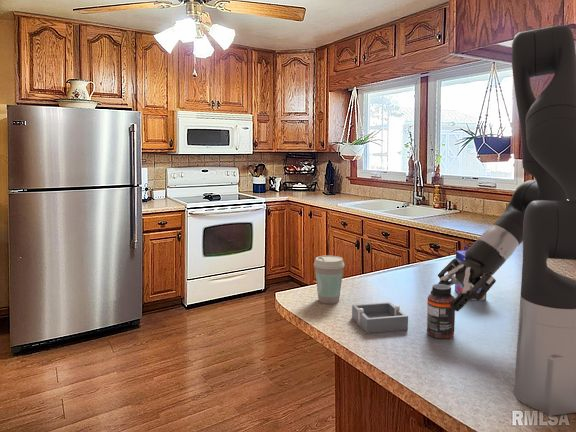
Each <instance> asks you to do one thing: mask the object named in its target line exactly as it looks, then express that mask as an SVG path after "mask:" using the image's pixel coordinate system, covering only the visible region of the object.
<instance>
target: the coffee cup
mask: <svg viewBox="0 0 576 432" xmlns="http://www.w3.org/2000/svg"><path fill="white" fill-rule="evenodd" d="M345 266H346V265H345V262H344V259H343V258H342V257H341V256H338V255H337V256H336V255H319V256H317V257H315V259H314V261H313V267H314V271H315V281H316V290H317V298H318V301H319V303H323V304H330V305H331V304H337V303H339V301H340V299H341V297H340V296H341V290H342V289H341V288H342V283H343V281H342V280H343V273H344V267H345Z"/></svg>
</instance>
